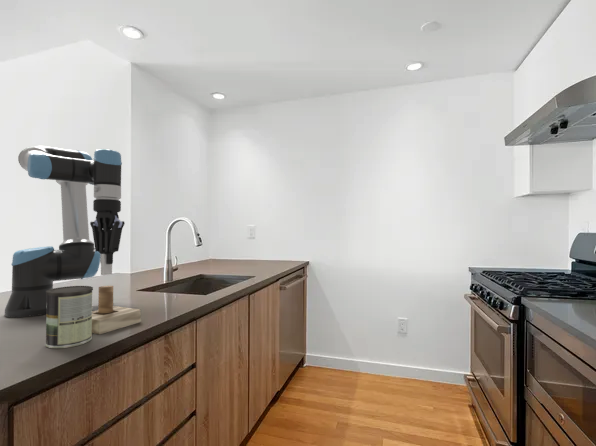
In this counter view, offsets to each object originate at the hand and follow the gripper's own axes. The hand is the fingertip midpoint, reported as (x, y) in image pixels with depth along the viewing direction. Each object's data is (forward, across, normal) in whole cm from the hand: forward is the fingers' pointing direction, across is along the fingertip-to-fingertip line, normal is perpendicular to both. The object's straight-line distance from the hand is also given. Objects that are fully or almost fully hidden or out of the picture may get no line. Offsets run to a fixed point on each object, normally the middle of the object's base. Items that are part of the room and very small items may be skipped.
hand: (106, 274), depth 104 cm
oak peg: (+16, 0, 0) cm, 16 cm away
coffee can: (+16, +6, -14) cm, 22 cm away
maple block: (+16, +1, 0) cm, 16 cm away
